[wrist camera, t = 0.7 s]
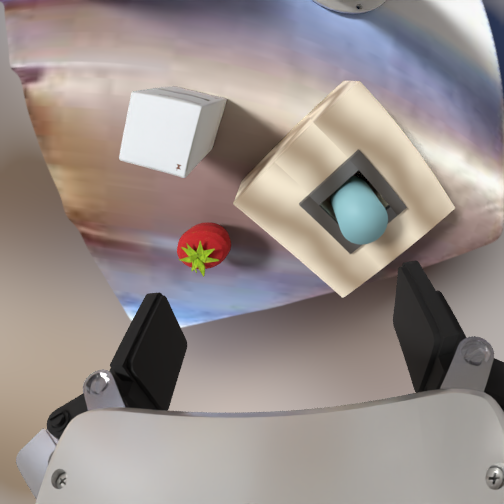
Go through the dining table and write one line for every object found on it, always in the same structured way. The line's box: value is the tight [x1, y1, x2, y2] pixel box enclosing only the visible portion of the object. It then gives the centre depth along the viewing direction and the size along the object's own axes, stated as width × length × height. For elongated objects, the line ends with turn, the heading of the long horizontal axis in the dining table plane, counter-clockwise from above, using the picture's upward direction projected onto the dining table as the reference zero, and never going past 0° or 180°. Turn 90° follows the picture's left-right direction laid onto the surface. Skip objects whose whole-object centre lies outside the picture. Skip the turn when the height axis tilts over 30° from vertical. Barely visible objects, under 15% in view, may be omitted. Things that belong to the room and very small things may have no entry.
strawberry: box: [177, 223, 231, 277], centre depth 40 cm, size 6×8×10 cm
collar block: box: [233, 81, 455, 297], centre depth 35 cm, size 19×19×9 cm
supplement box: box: [119, 86, 227, 178], centre depth 31 cm, size 7×7×13 cm
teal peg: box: [330, 176, 388, 245], centre depth 31 cm, size 5×5×7 cm
